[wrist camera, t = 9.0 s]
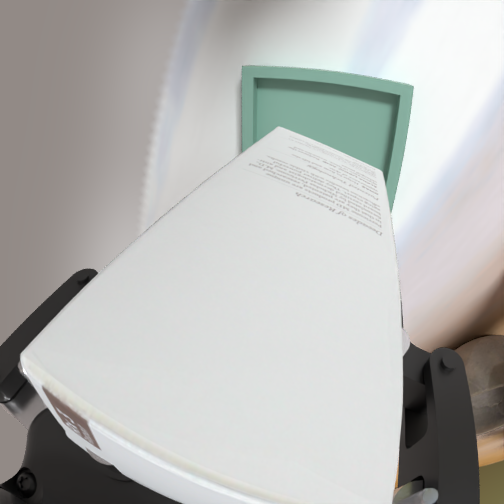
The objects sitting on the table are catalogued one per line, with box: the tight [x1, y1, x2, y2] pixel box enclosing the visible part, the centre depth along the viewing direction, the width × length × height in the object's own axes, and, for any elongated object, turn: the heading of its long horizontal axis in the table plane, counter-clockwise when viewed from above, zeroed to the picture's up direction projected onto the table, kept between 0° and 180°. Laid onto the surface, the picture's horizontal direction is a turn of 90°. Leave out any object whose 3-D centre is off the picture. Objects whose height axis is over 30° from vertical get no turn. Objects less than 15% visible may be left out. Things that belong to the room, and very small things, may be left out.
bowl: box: [454, 335, 504, 436], centre depth 31 cm, size 17×18×10 cm
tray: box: [242, 66, 414, 212], centre depth 26 cm, size 14×14×2 cm
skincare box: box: [20, 126, 403, 504], centre depth 11 cm, size 8×6×15 cm
